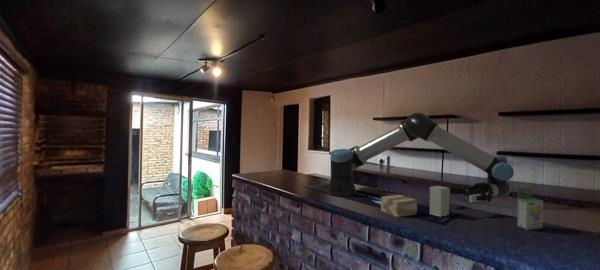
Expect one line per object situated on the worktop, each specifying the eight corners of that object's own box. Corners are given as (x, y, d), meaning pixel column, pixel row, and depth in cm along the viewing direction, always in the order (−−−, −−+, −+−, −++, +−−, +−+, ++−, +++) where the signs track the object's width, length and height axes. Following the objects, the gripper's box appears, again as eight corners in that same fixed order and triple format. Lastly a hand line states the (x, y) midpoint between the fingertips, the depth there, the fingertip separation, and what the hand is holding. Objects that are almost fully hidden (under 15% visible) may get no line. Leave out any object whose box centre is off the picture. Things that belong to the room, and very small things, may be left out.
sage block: (429, 213, 117) (429, 186, 117) (437, 212, 120) (438, 185, 119) (440, 217, 113) (440, 189, 113) (448, 215, 115) (449, 187, 115)
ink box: (528, 230, 98) (528, 191, 97) (516, 226, 101) (517, 188, 101) (543, 228, 100) (543, 190, 99) (531, 225, 103) (531, 187, 103)
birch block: (380, 210, 122) (380, 196, 122) (399, 208, 126) (399, 194, 126) (397, 217, 113) (397, 202, 113) (416, 214, 117) (417, 199, 117)
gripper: (515, 205, 119) (485, 212, 109) (458, 193, 141) (428, 198, 131) (515, 187, 119) (485, 192, 109) (458, 178, 141) (428, 181, 131)
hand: (454, 195), depth 120 cm, fingers open, 13 cm apart
